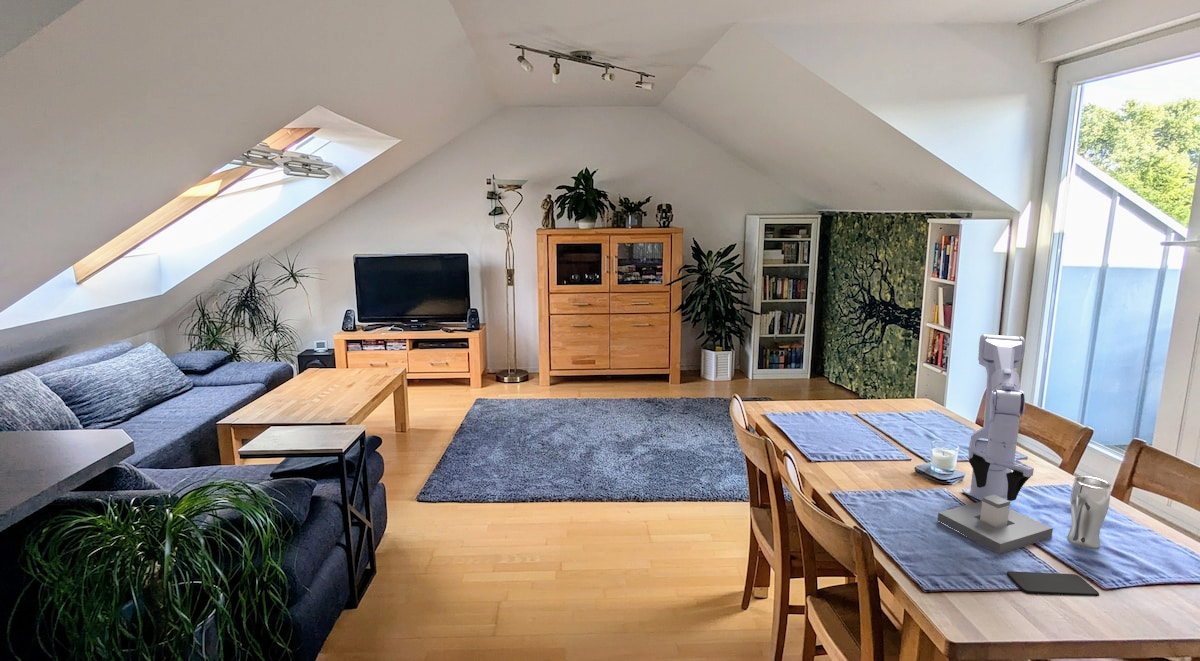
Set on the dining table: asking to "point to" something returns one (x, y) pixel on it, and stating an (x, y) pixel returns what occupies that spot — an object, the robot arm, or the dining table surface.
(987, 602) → the dining table surface
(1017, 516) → the socket
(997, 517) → the plug
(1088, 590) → the smartphone
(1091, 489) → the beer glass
